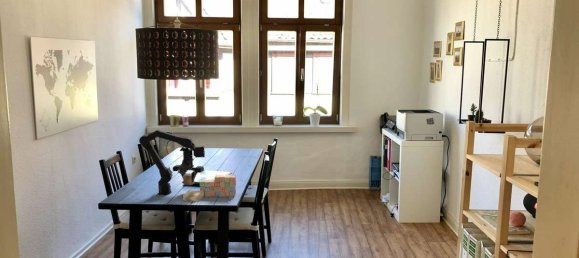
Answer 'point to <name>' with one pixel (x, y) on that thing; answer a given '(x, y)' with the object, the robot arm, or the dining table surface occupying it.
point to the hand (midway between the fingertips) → (188, 182)
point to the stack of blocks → (219, 186)
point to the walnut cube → (187, 179)
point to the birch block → (193, 195)
